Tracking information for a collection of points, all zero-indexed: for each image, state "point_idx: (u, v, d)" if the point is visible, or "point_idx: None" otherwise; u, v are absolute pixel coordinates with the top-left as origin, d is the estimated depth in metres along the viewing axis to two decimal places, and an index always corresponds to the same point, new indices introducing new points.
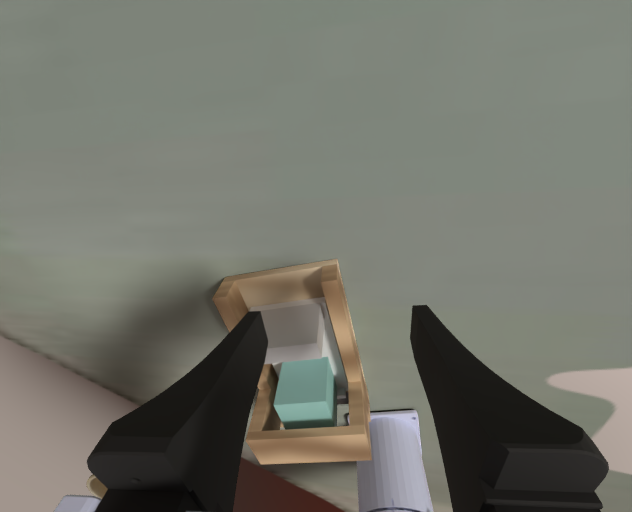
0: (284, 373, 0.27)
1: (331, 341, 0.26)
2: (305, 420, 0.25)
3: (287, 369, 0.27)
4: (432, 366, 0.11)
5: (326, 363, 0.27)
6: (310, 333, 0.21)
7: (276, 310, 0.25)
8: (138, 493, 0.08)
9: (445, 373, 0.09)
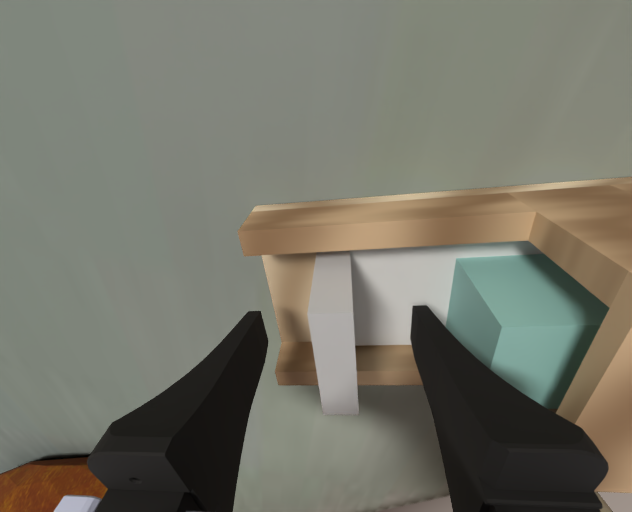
0: None
1: None
2: (558, 373, 0.11)
3: (453, 334, 0.15)
4: (432, 366, 0.11)
5: (461, 269, 0.13)
6: None
7: None
8: (138, 493, 0.08)
9: (445, 373, 0.09)
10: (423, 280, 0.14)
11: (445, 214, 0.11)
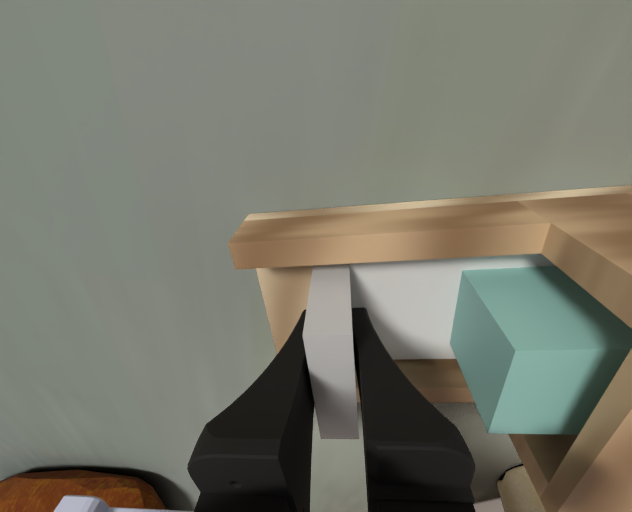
0: (461, 360, 0.13)
1: None
2: (576, 398, 0.10)
3: (458, 349, 0.14)
4: (358, 367, 0.11)
5: (468, 282, 0.12)
6: None
7: None
8: (235, 497, 0.07)
9: (360, 374, 0.10)
10: (427, 293, 0.13)
11: (452, 225, 0.11)
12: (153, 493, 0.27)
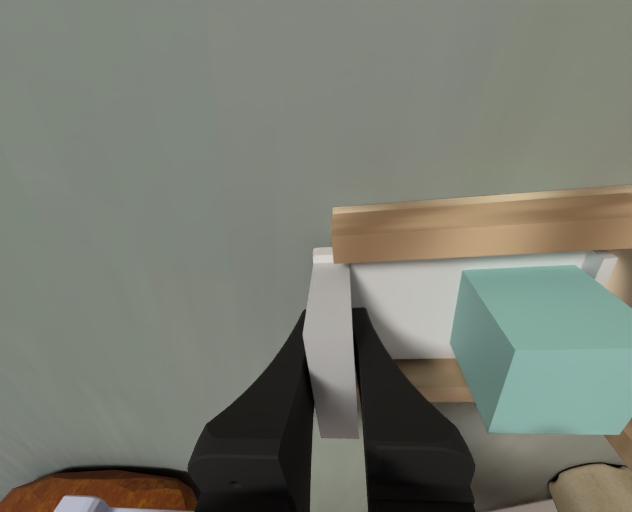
0: (461, 360, 0.13)
1: None
2: (575, 398, 0.10)
3: (458, 349, 0.14)
4: (358, 367, 0.11)
5: (468, 282, 0.12)
6: None
7: None
8: (235, 497, 0.07)
9: (360, 374, 0.10)
10: (427, 293, 0.13)
11: (572, 217, 0.10)
12: (193, 494, 0.27)
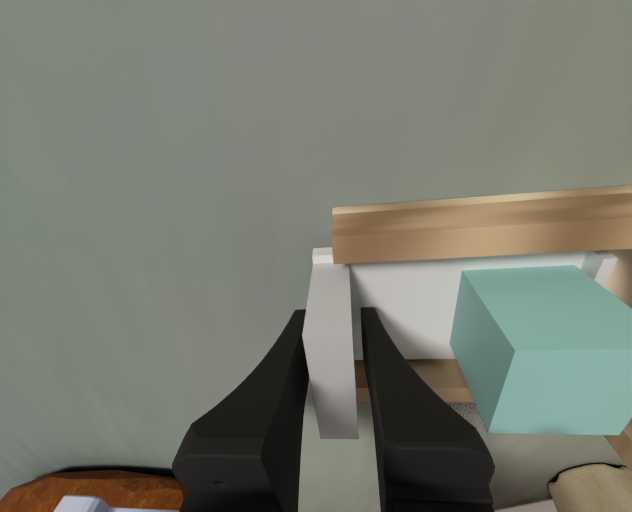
0: (460, 360, 0.13)
1: None
2: (575, 398, 0.10)
3: (458, 349, 0.14)
4: (369, 367, 0.11)
5: (468, 282, 0.12)
6: None
7: None
8: (220, 496, 0.07)
9: (373, 374, 0.10)
10: (426, 293, 0.13)
11: (572, 217, 0.10)
12: None
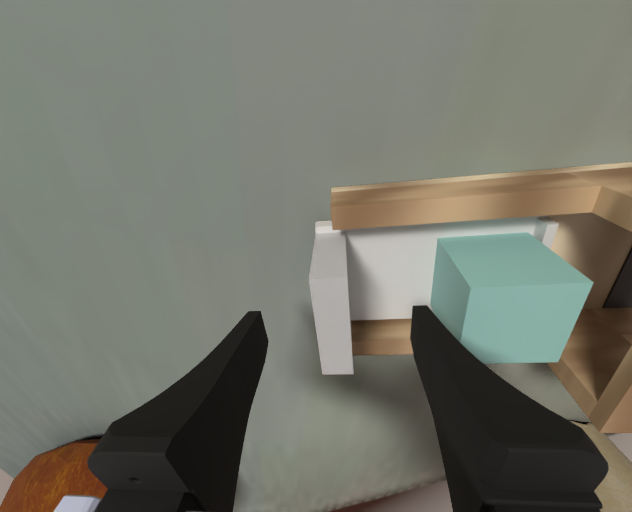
0: (438, 313, 0.16)
1: (401, 227, 0.15)
2: (520, 329, 0.13)
3: (436, 305, 0.17)
4: (432, 366, 0.11)
5: (441, 246, 0.15)
6: None
7: None
8: (138, 493, 0.08)
9: (445, 373, 0.09)
10: (409, 258, 0.16)
11: (518, 189, 0.13)
12: None
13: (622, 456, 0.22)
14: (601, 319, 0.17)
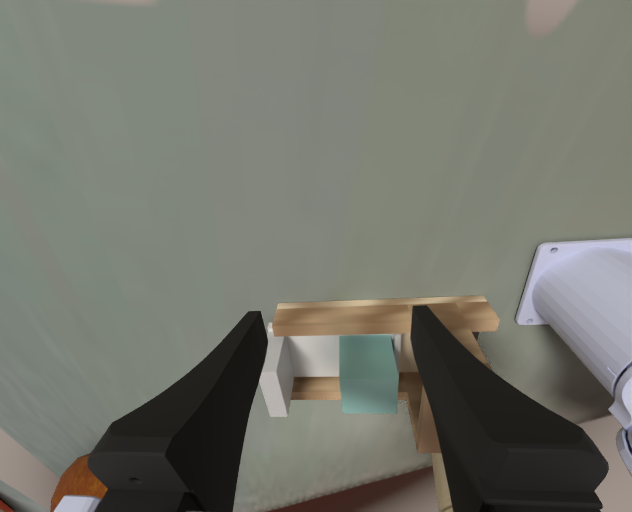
0: None
1: None
2: (371, 397, 0.23)
3: None
4: (432, 366, 0.11)
5: (339, 343, 0.26)
6: None
7: None
8: (138, 493, 0.08)
9: (445, 373, 0.09)
10: (325, 345, 0.27)
11: (372, 320, 0.24)
12: None
13: None
14: None
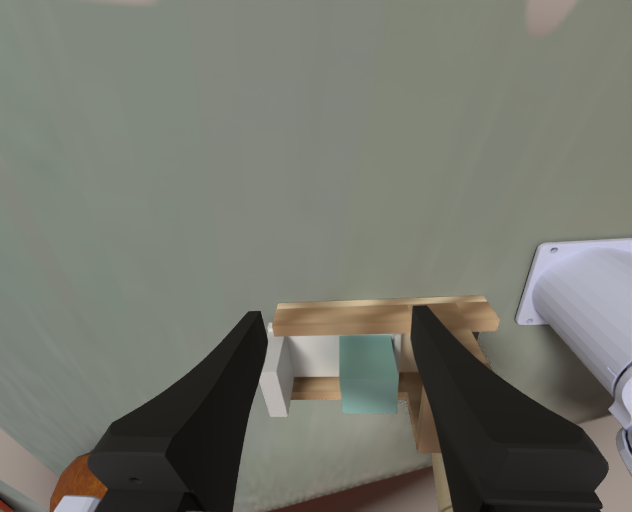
0: None
1: None
2: (371, 397, 0.23)
3: None
4: (432, 366, 0.11)
5: (339, 343, 0.26)
6: None
7: None
8: (138, 493, 0.08)
9: (445, 373, 0.09)
10: (325, 345, 0.27)
11: (372, 320, 0.24)
12: None
13: None
14: None
